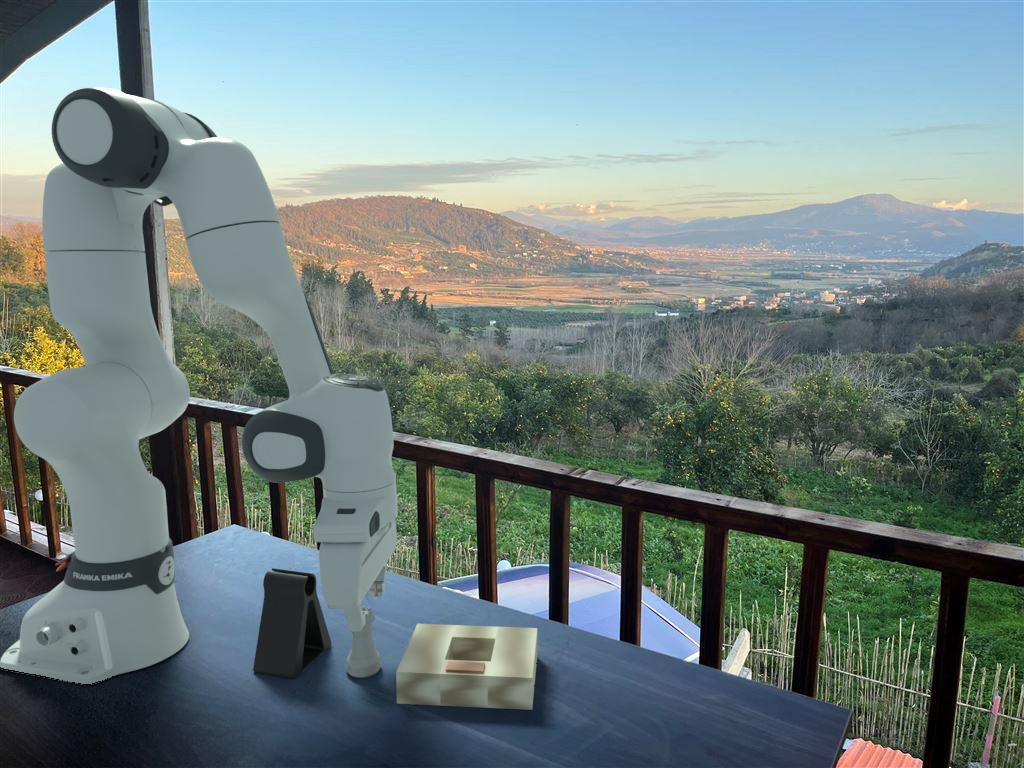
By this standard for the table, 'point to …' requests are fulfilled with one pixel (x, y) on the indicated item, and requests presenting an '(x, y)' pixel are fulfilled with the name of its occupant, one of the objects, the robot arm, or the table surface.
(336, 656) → the table surface
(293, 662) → the phone stand
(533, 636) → the socket block
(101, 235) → the robot arm
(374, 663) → the rook chess piece
